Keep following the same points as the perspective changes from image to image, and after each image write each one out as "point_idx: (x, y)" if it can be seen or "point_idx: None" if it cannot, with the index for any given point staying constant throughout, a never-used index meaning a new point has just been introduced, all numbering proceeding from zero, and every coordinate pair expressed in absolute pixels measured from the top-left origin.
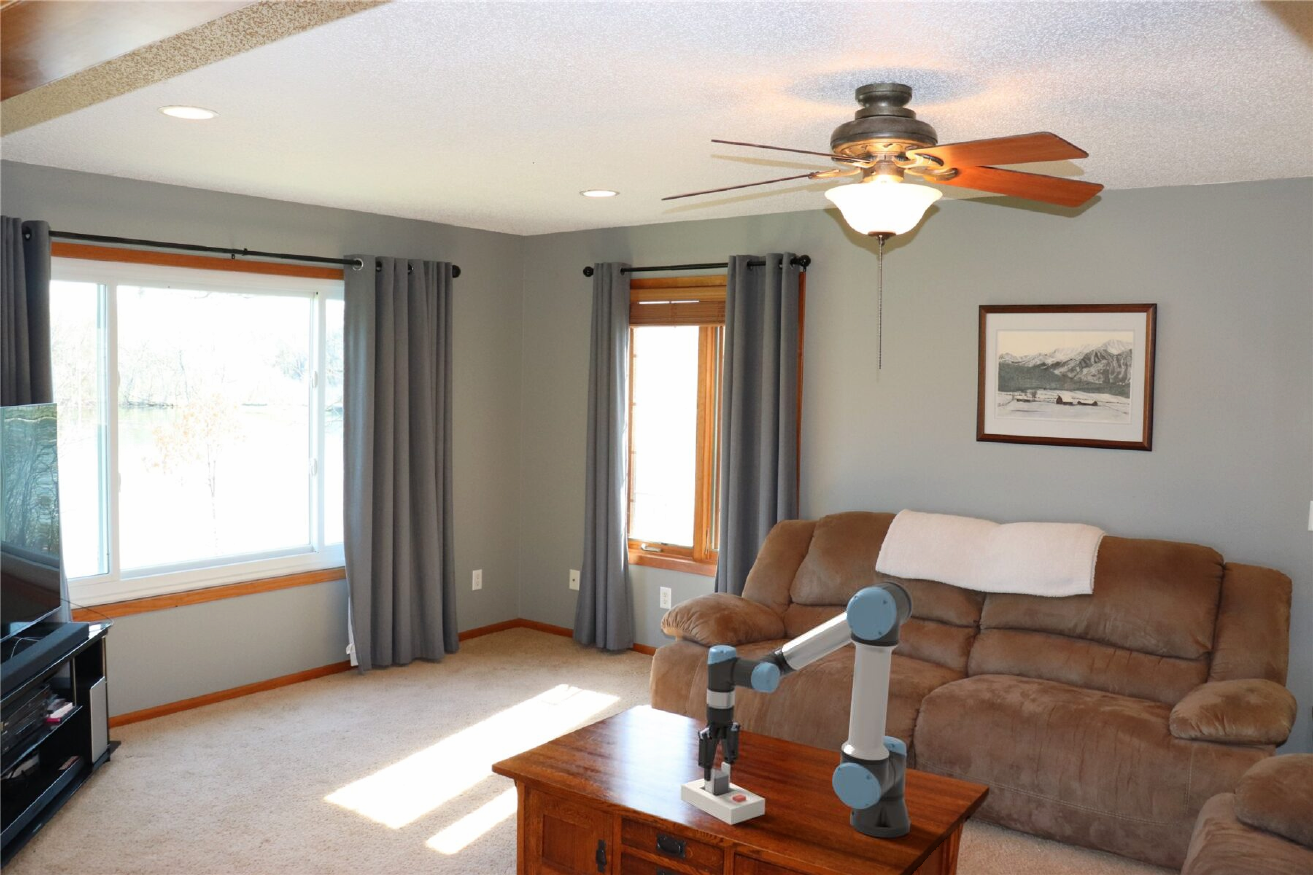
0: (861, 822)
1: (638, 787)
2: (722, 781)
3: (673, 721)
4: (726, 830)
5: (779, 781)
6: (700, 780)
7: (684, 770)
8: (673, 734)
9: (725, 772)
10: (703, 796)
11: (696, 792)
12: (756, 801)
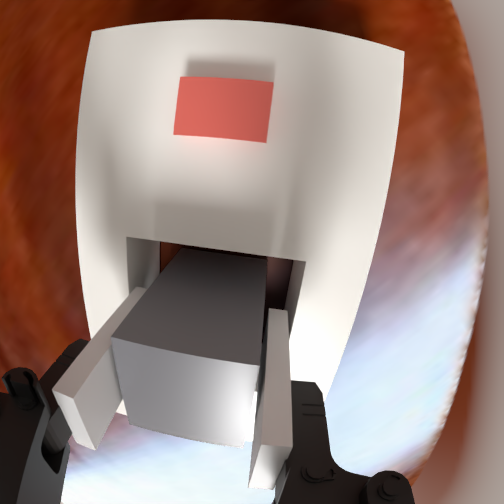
0: None
1: None
2: (189, 327)
3: None
4: (423, 63)
5: None
6: None
7: (132, 461)
8: (73, 492)
9: (111, 373)
10: (352, 317)
11: (335, 369)
12: (158, 24)
